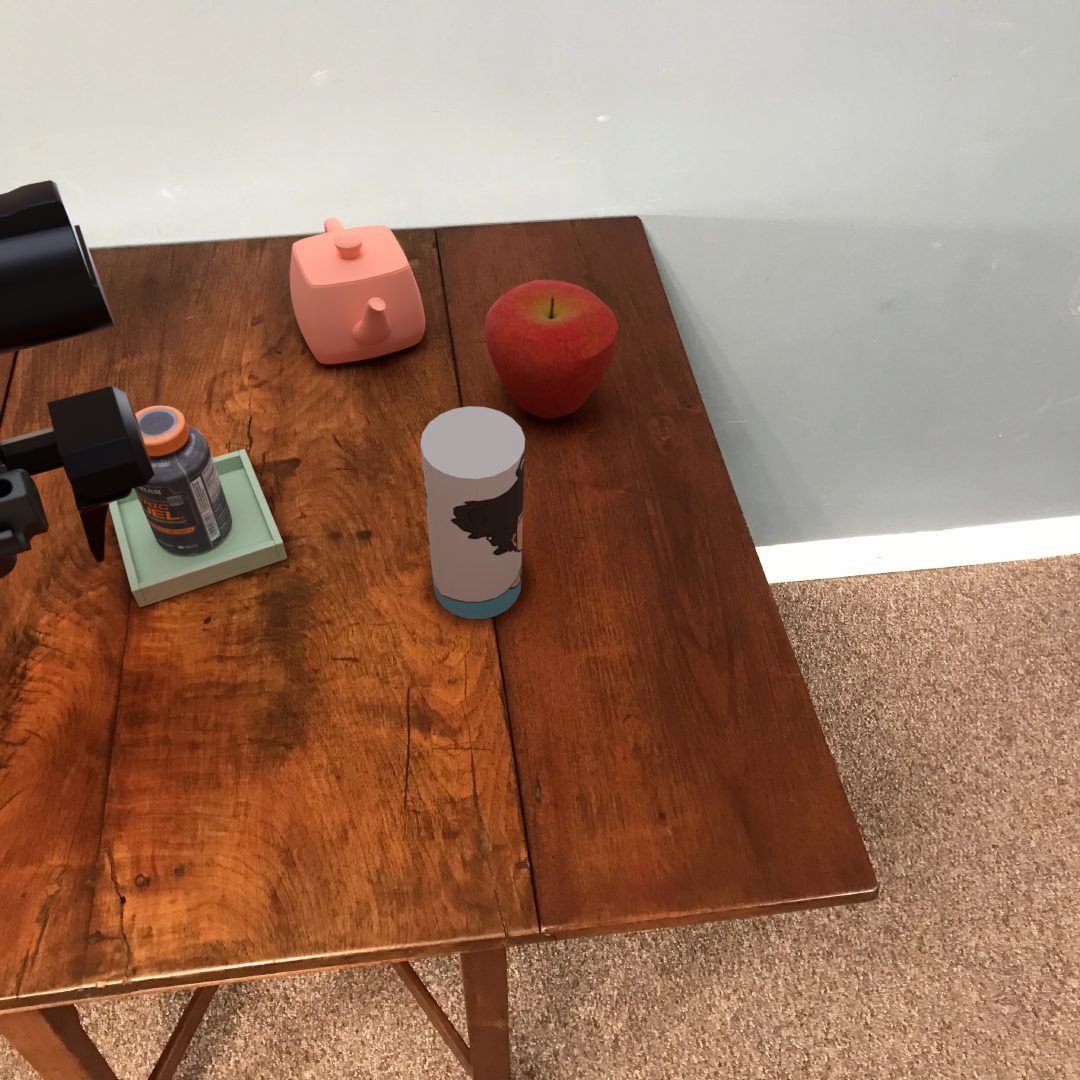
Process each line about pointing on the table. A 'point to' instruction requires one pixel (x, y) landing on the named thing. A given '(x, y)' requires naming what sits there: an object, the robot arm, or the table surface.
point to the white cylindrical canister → (474, 509)
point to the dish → (238, 553)
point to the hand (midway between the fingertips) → (17, 582)
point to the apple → (550, 345)
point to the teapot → (354, 293)
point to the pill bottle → (181, 485)
